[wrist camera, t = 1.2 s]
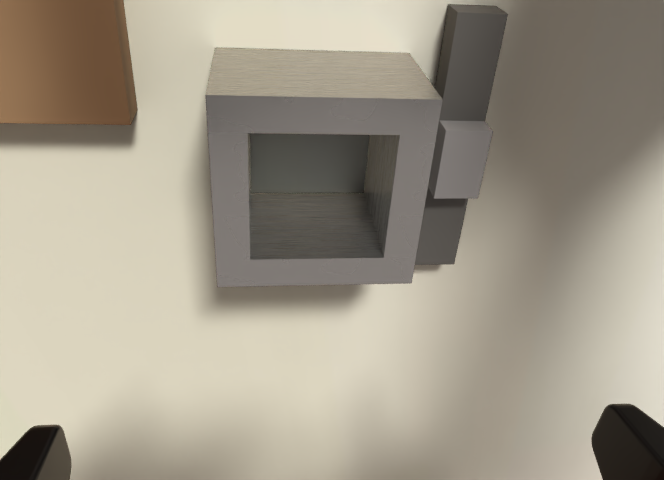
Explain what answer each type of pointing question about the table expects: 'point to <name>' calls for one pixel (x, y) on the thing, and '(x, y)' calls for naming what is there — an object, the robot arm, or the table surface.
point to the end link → (319, 208)
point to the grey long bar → (460, 126)
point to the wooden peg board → (65, 63)
